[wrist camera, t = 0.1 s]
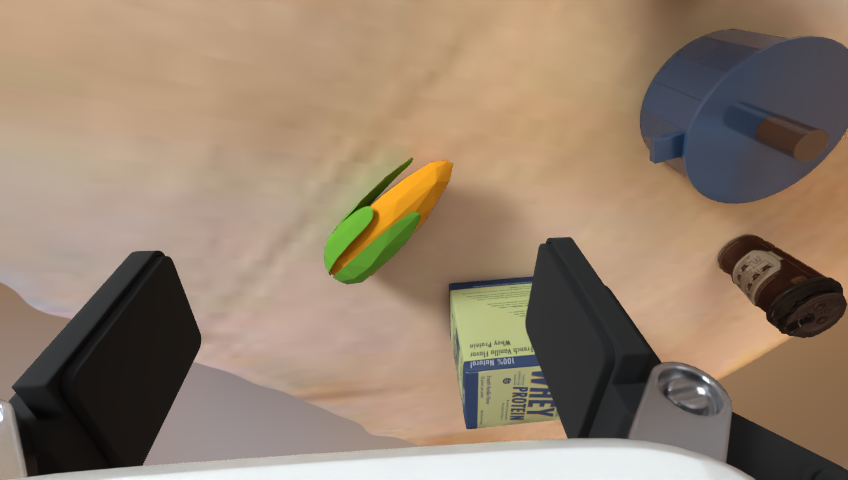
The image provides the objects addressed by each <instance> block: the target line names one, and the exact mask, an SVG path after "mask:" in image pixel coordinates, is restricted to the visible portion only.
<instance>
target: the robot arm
mask: <svg viewBox="0 0 848 480" xmlns="http://www.w3.org/2000/svg"><path fill="white" fill-rule="evenodd" d="M525 327H526V332H527V335H528V337H529V340H530V342H531V345H532V348H533V350H534V353H535V355H536V358H537V360H538V363H539V366H540V368H541V371H542V373H543V376H544V378H545V381H546V384H547V386H548V389H549V391H550V394H551V396H552V399H553V402H554V404H555V407H556V409H557V412H558V414H559V417H560V420H561V422H562V425H563V427H564V430H565V432H566V435H567V438H568V439H549V440H527V441H506V442H490V443H473V444H457V445H441V446H425V447H410V448H393V449H379V450H378V449H377V450H363V451H348V452H332V453H318V454H302V455H288V456H273V457H258V458H244V459H231V460H217V461H203V462H189V463H176V464H161V465H147V466H142V465H143V463H144V461H145V459H146V457H147V455H148V453H149V451H150V449H151V447H152V445H153V443H154V441H155V439H156V437H157V435H158V433H159V431H160V428H161V426H162V424H163V422H164V420H165V418H166V416H167V414H168V412H169V410H170V408H171V406H172V404H173V401H174V400H175V398H176V396H177V393H178V392H179V389H180V387H181V386H182V383H183V381H184V379H185V377H186V375H187V373H188V371H189V369H190V367H191V365H192V363H193V361H194V359H195V357H196V355H197V353H198V351H199V348H200V345H201V334H200V331H199V329H198V326H197V323H196V321H195V318H194V315H193V313H192V310H191V308H190V305H189V302H188V300H187V297H186V294H185V292H184V289H183V287H182V284H181V281H180V279H179V276H178V273H177V271H176V268H175V266H174V263H173V261H172V259H171V258H170V257H168V256H165V255H164V254H163V253H162V252H161V251H136V252H132V253H131V254H130V255H129V256H128V257H127V258H126V259H125V261H124V262H123V263H122V264H121V265H120V266H119V267H118V268H117V269H116V271H115V272H114V273H113V274H112V275H111V276H110V277H109V278H108V280H107V281H106V282H105V283H104V284H103V285H102V286H101V287H100V289H99V290H98V291H97V292H96V293H95V294H94V295H93V296H92V297H91V299H90V300H89V301H88V302H87V303H86V304H85V305H84V306H83V308H82V309H81V310H80V311H79V312H78V313H77V314H76V315H75V317H74V318H73V319H72V320H71V321H70V322H69V323H68V324H67V325H66V327H65V328H64V329H63V330H62V331H61V332H60V333H59V334H58V336H57V337H56V338H55V339H54V340H53V341H52V342H51V344H50V345H49V346H48V347H47V348H46V349H45V350H44V351H43V352H42V353H41V355H40V356H39V357H38V358H37V359H36V360H35V361H34V363H33V364H32V365H31V366H30V367H29V368H28V369H27V370H26V371H25V373H24V374H23V375H22V376H21V377H20V378H19V379H18V381H17V382H16V383H15V384H14V385H13V386H12V388H13V389H14V391H15V392H16V393H15V395H14V396H13V397H12V398H11V399H10V400H9V402H7V401H4V400H2V399H0V480H848V471H847V470H846V469H844V468H843V467H841V466H839V465H837V464H835V463H833V462H831V461H829V460H827V459H825V458H823V457H821V456H819V455H817V454H815V453H813V452H811V451H809V450H807V449H805V448H803V447H801V446H799V445H797V444H795V443H793V442H791V441H789V440H787V439H785V438H783V437H781V436H779V435H777V434H775V433H773V432H771V431H769V430H767V429H765V428H763V427H761V426H759V425H757V424H755V423H753V422H751V421H749V420H748V419H746V418H744V417H741V416H740V415H738V414H735V413H734V412H732V403H731V399H730V397H729V395H728V393H727V392H726V390H725V389H724V388H723V387H722V386H721V385H720V383H719V382H718V381H717V380H715V379H714V378H713V377H711V376H710V375H709V374H707V373H705V372H704V371H702V370H700V369H698V368H696V367H693V366H690V365H687V364H684V363H678V362H665V363H661V361H660V360H659V358H658V357H657V355H656V354H655V353H654V351H653V350H652V348H651V347H650V345H649V344H648V343H647V341H646V340H645V338H644V337H643V335H642V334H641V333H640V331H639V330H638V328H637V327H636V325H635V324H634V323H633V321H632V320H631V318H630V317H629V316H628V314H627V313H626V311H625V310H624V308H623V307H622V306H621V304H620V303H619V301H618V300H617V298H616V297H615V296H614V294H613V293H612V291H611V290H610V289H609V288H608V287H607V286H605V285H604V284H603V282H602V281H601V280H600V278H599V277H598V275H597V274H596V272H595V271H594V269H593V268H592V267H591V265H590V264H589V262H588V261H587V259H586V258H585V256H584V255H583V254H582V252H581V251H580V249H579V248H578V246H577V245H576V243H575V242H574V241H573V239H572V238H569V237H565V238H548V239H547V241H546V243H545V244H540V246H539V250H538V255H537V260H536V266H535V271H534V276H533V281H532V287H531V292H530V297H529V303H528V308H527V313H526V318H525Z"/></svg>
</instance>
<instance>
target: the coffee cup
mask: <svg viewBox="0 0 848 480" xmlns="http://www.w3.org/2000/svg"><path fill="white" fill-rule="evenodd" d="M718 263H719V267H720V268H721V269H722V270H723V272H726V273H728V274H730V275H731V277H732V281H733V283H734V284H736V285H737V286H738V287H739V288H740V289H741V290H742V292H743V293H744V294H745V295H746V296H747V298H748V299H749V300H750V301H751V302H752V304H753V305H754V306H758V307H760V308H761V309H762V310H763V311H764V312H766V316H767V317H766V318H767V320H768V322H770V323H771V324H772V325H774V326H775V327H776V328H778V329H779V331H781V333H782V334H787V335H789V336H797V337H802V338H806V337H813V336H815V335H818V334H820V333H822V332H823V331H825V330H827V329H829V328H830V327H831V326H833V325H834V324H835V323H837V321H838V320H839V319H840V318H841V317H842V316H843V314H844V312H845V309H846V306H847V303H846V300H845V298H844V296H843V288H842V286H841V284H840V283H839V282H837V281H835V280H834V279H832V278H829V277H828V278H827V277H825V276H824V275H822V274H821V273H819V272H817V271H816V270H814V269H813V268H811V267H809V266H807V265H806V264H804V263H802V262H801V261H799V260H797V259H796V258H794V257H792V256H791V255H789V254H787V253H785V252H784V251H782V250H781V249H779V248H777V247H775V246H774V245H773V244H771V243H769V242H767V241H764V240H763V239H761V238H760V237H758V236H755V235H743V236H741V237H738V238H736V239H734V240H732V241H731V242H730V243H728V244H727V245H726V246H725V248H724V249H723V250H722V251H721V253H720V255H719V259H718Z"/></svg>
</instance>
